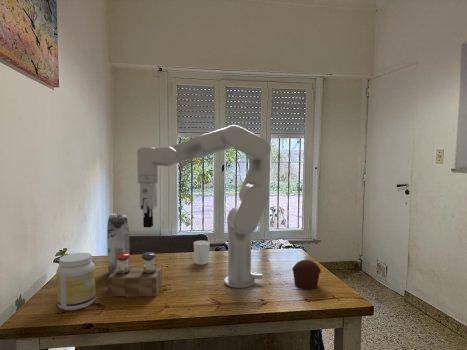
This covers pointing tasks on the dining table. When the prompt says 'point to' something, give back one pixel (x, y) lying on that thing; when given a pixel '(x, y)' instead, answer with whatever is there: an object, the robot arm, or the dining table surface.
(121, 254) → the red plug
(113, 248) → the juice carton
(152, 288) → the wooden slotted frame
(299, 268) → the muffin
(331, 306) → the dining table surface
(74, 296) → the supplement tub
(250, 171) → the robot arm
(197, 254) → the white cup
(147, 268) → the grey capped peg
